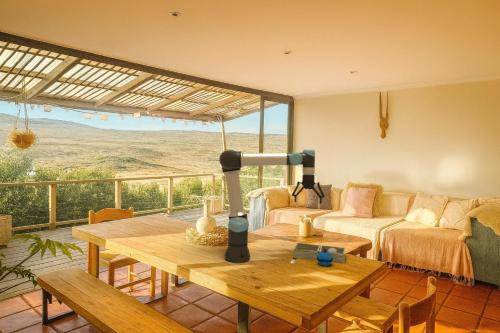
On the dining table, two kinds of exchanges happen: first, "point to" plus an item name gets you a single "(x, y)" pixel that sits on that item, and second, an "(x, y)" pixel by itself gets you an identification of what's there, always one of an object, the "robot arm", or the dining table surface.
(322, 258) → the ornament
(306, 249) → the two-compartment wooden tray
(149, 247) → the dining table surface
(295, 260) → the card
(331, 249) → the ball
